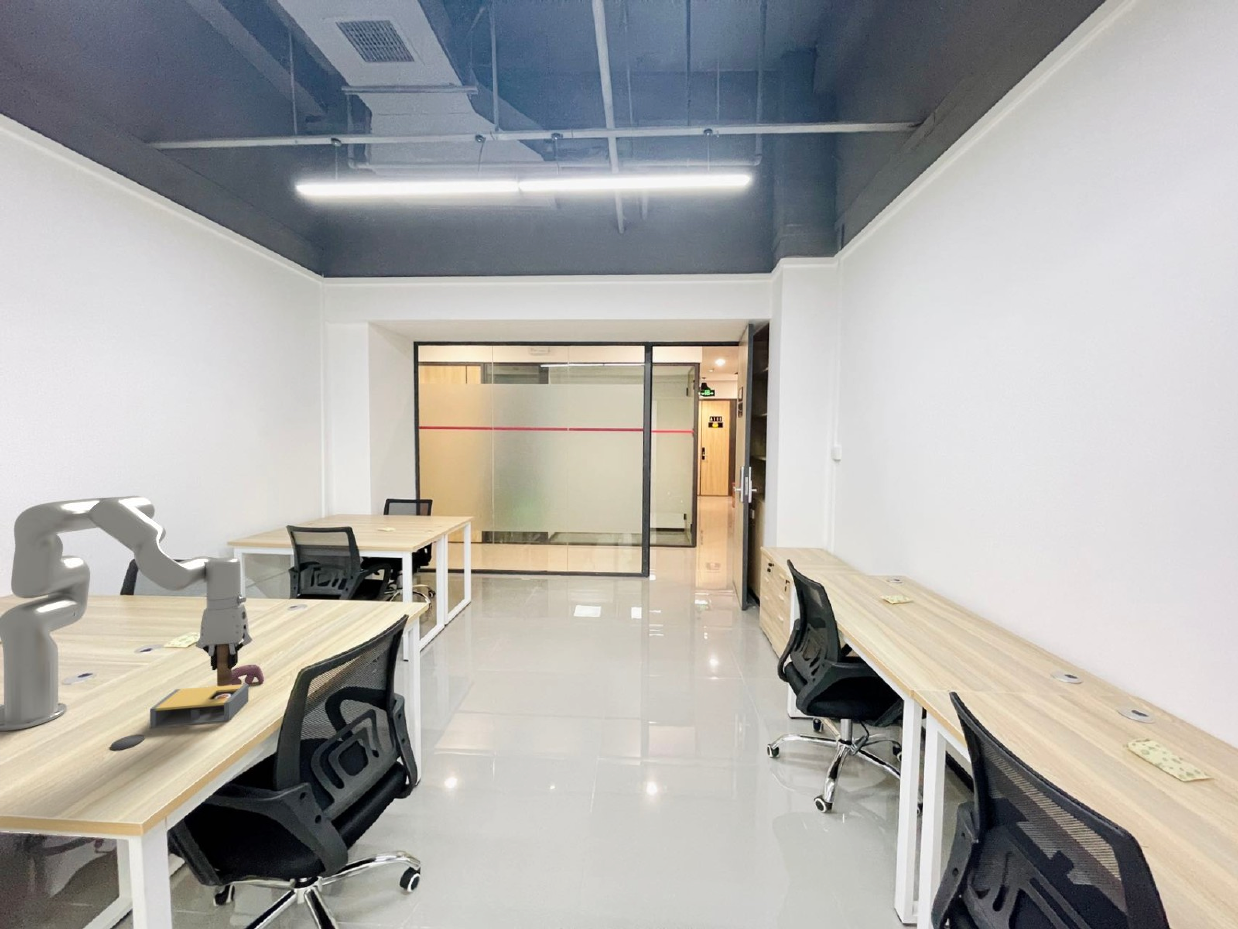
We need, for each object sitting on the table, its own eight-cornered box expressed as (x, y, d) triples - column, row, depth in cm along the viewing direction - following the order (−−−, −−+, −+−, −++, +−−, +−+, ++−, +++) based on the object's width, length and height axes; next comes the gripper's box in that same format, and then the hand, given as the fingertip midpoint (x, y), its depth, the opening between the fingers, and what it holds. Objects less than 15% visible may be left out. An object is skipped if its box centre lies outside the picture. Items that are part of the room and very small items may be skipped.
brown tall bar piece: (220, 681, 141) (220, 636, 141) (233, 680, 142) (233, 635, 142) (214, 686, 138) (214, 640, 138) (228, 685, 139) (227, 639, 139)
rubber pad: (104, 751, 121) (104, 749, 121) (122, 737, 127) (122, 736, 127) (134, 748, 123) (134, 746, 123) (150, 734, 129) (150, 733, 129)
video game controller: (261, 684, 161) (258, 662, 162) (265, 682, 158) (262, 659, 160) (223, 695, 153) (220, 672, 155) (227, 693, 150) (224, 669, 152)
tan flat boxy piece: (149, 728, 132) (150, 709, 132) (175, 707, 142) (175, 689, 142) (229, 721, 136) (229, 702, 136) (248, 701, 147) (248, 684, 147)
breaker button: (211, 706, 138) (211, 700, 138) (218, 699, 142) (218, 694, 142) (226, 704, 139) (226, 699, 139) (233, 698, 143) (233, 693, 142)
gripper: (263, 597, 145) (263, 659, 146) (197, 600, 141) (197, 664, 142) (251, 604, 138) (251, 670, 139) (181, 608, 134) (181, 676, 135)
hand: (224, 667), depth 140 cm, fingers closed on brown tall bar piece, 3 cm apart
